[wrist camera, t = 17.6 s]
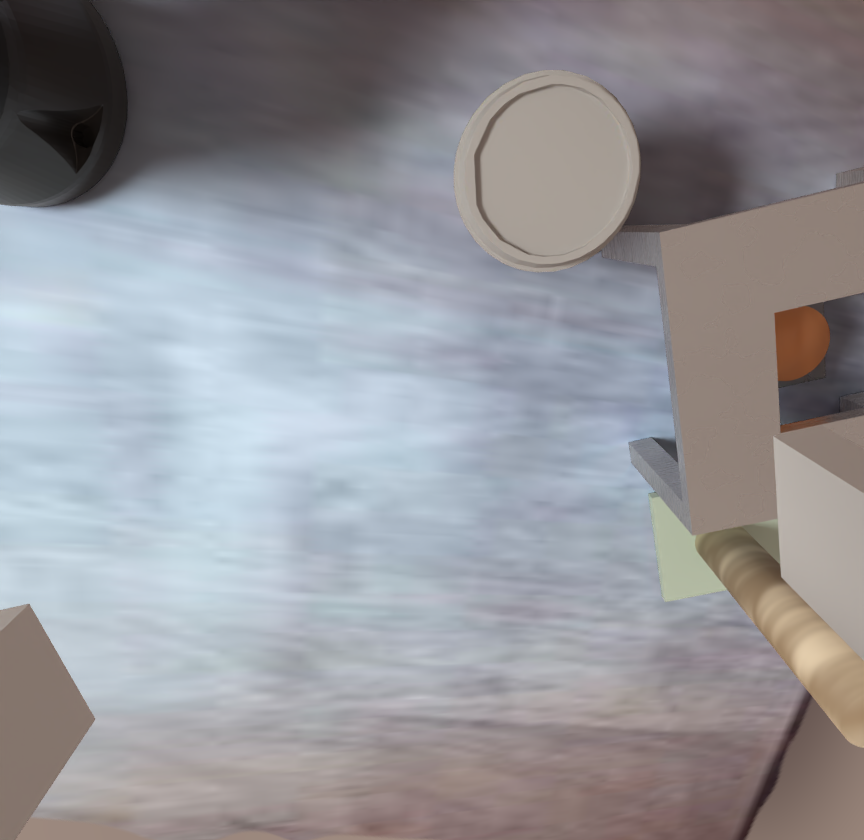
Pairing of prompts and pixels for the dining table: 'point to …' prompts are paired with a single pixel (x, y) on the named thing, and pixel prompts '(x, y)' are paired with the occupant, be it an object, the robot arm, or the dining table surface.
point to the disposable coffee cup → (547, 171)
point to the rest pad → (693, 553)
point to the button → (800, 341)
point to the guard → (741, 343)
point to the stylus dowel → (790, 626)
